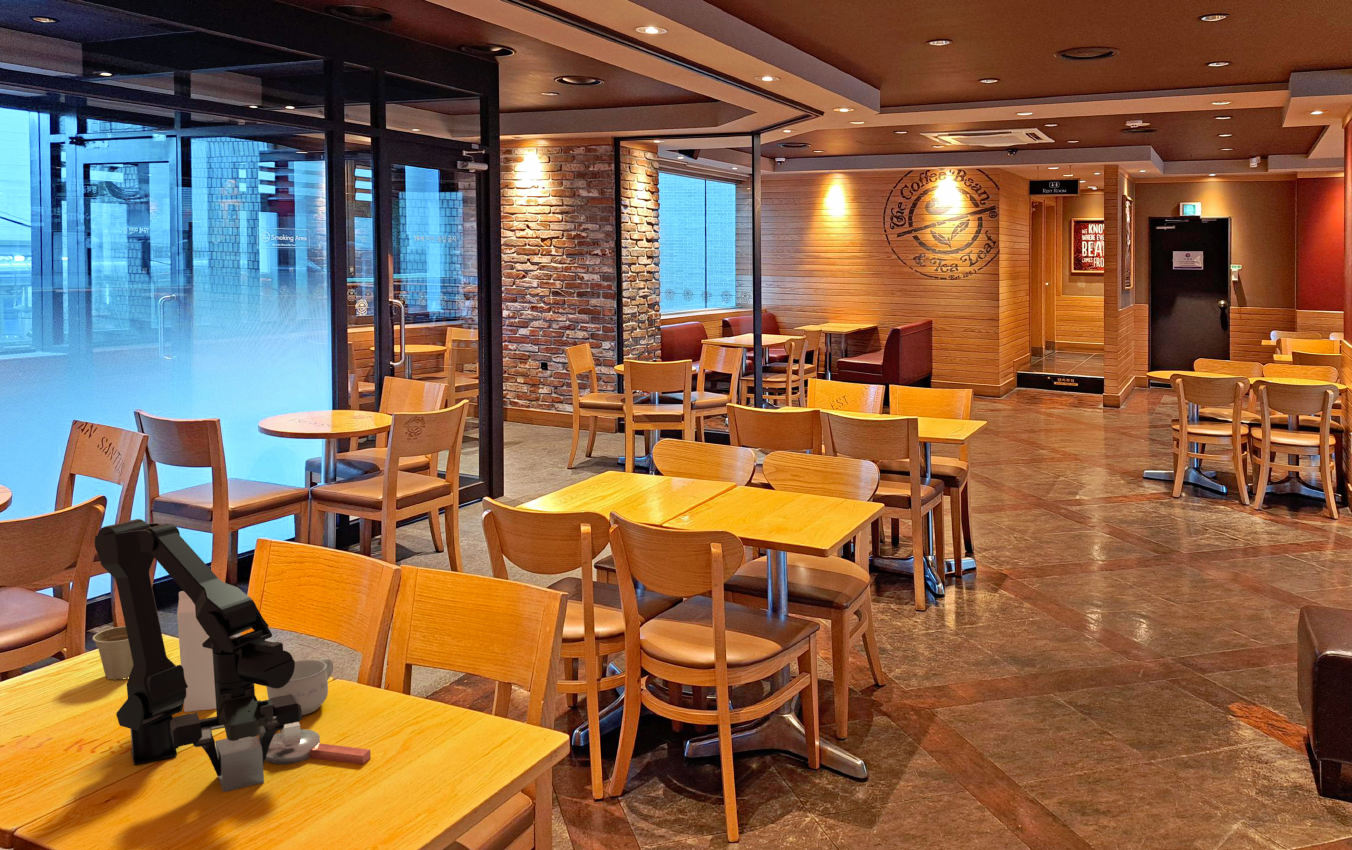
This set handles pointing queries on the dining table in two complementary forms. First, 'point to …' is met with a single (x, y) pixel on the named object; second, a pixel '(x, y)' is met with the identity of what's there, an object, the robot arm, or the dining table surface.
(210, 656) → the milk
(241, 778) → the matte grey cube
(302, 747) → the pan with red handle
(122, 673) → the flower pot
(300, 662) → the teacup
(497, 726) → the dining table surface
